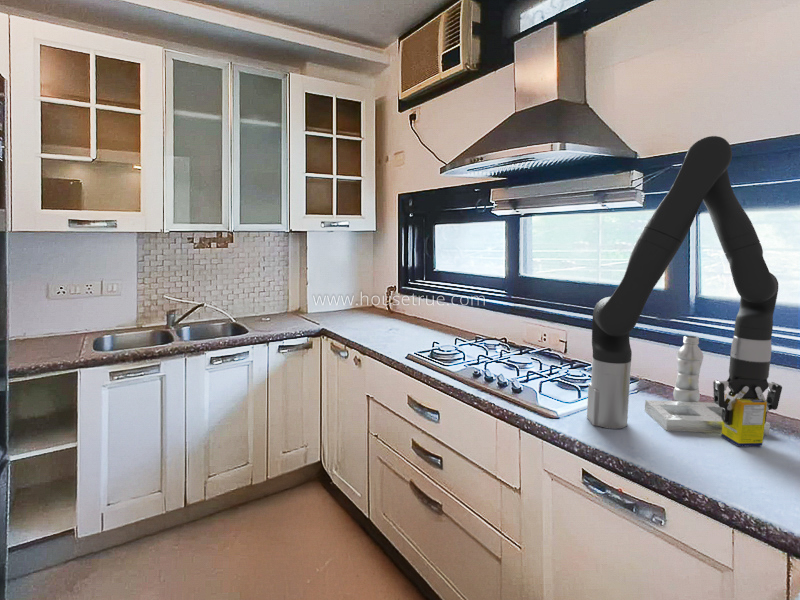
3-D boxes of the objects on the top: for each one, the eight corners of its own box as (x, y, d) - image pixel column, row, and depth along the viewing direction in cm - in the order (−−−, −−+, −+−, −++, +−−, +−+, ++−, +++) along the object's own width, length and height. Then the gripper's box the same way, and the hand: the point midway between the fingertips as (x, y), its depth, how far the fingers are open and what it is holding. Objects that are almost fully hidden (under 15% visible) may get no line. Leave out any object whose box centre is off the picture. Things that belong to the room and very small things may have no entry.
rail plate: (666, 430, 120) (667, 419, 120) (644, 410, 134) (645, 400, 133) (768, 435, 117) (770, 423, 117) (736, 413, 131) (737, 403, 131)
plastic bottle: (668, 399, 143) (673, 334, 140) (692, 400, 142) (698, 334, 139) (678, 407, 136) (683, 339, 134) (703, 408, 135) (709, 339, 133)
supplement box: (743, 435, 116) (748, 392, 115) (763, 446, 110) (768, 401, 109) (720, 436, 116) (724, 393, 115) (738, 446, 110) (742, 401, 109)
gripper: (725, 359, 108) (719, 429, 110) (795, 361, 106) (786, 432, 108) (708, 351, 115) (702, 417, 117) (773, 353, 113) (765, 420, 115)
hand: (742, 424), depth 113 cm, fingers closed on supplement box, 6 cm apart
